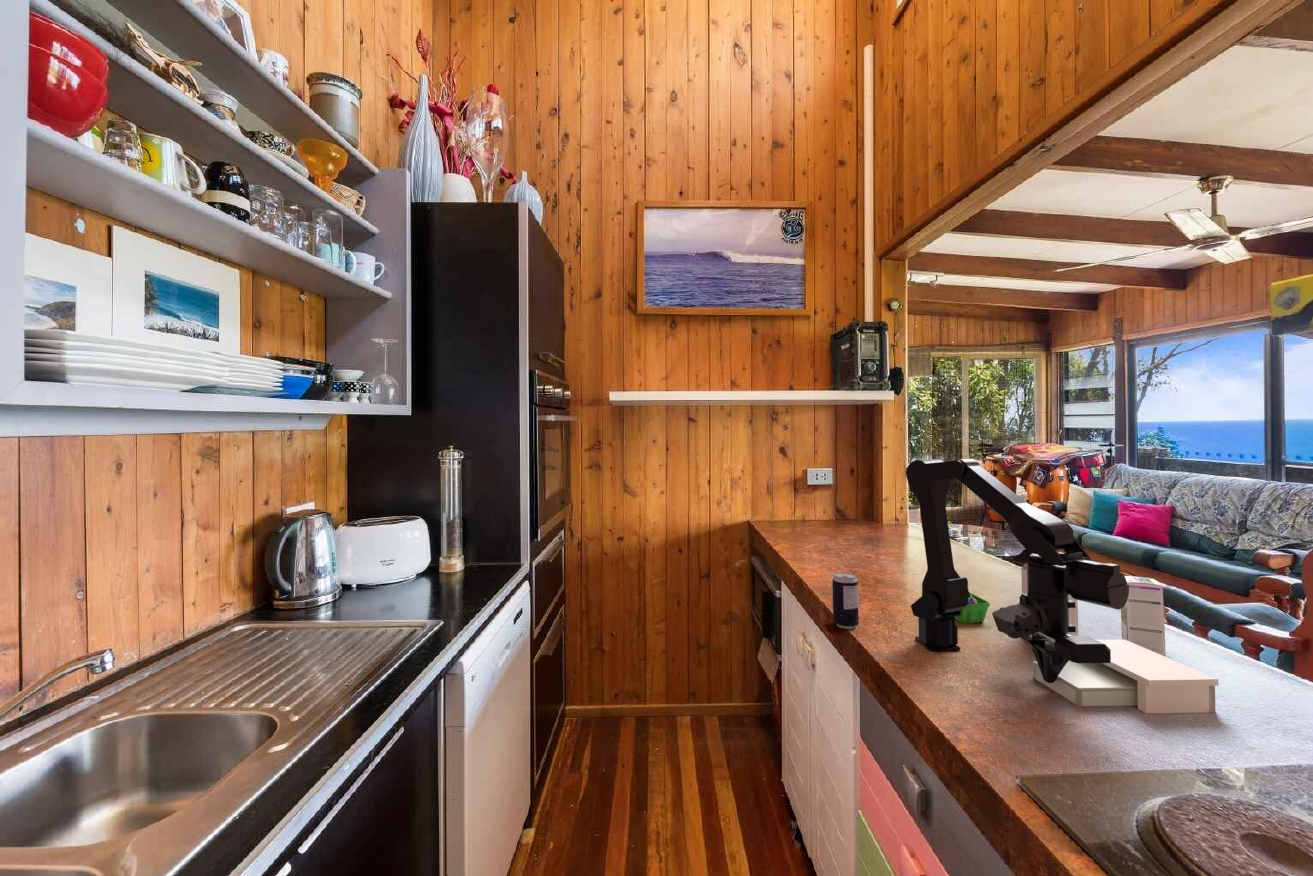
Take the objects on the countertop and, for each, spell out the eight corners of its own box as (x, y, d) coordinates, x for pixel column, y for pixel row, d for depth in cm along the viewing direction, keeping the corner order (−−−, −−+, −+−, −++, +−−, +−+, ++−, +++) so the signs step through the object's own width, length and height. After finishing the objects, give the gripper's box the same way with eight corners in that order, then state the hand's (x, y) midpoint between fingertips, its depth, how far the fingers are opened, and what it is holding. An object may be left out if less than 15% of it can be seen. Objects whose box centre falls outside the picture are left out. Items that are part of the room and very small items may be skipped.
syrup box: (1166, 658, 100) (1165, 585, 100) (1126, 652, 103) (1125, 581, 103) (1157, 648, 105) (1156, 578, 105) (1119, 642, 108) (1118, 574, 108)
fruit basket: (992, 624, 119) (991, 577, 119) (954, 625, 119) (954, 577, 119) (963, 608, 130) (963, 565, 131) (929, 609, 131) (928, 565, 131)
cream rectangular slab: (1078, 706, 83) (1078, 688, 83) (1033, 677, 93) (1033, 661, 93) (1176, 705, 83) (1176, 686, 83) (1120, 676, 93) (1120, 660, 93)
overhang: (1149, 715, 80) (1148, 680, 80) (1067, 669, 96) (1066, 640, 96) (1219, 714, 80) (1218, 679, 80) (1125, 668, 96) (1124, 639, 96)
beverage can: (858, 622, 122) (857, 572, 122) (859, 631, 116) (858, 579, 116) (833, 620, 123) (832, 571, 124) (833, 628, 118) (832, 577, 118)
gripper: (968, 577, 97) (969, 659, 97) (1041, 610, 79) (1042, 711, 79) (1026, 577, 97) (1027, 659, 97) (1113, 609, 79) (1114, 710, 78)
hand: (1048, 682), depth 88 cm, fingers closed, pressing on cream rectangular slab
